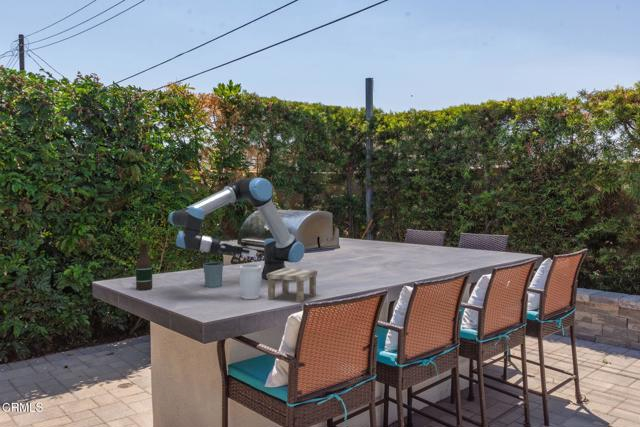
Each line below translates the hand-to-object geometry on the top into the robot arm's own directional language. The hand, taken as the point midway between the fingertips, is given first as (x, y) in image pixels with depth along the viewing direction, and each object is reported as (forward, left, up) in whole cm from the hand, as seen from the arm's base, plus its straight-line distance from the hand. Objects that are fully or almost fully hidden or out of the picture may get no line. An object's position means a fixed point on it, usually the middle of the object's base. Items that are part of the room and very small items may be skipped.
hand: (255, 254), depth 230 cm
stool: (+17, +5, -20) cm, 27 cm away
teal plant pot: (-33, +13, -21) cm, 41 cm away
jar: (-1, -3, -21) cm, 21 cm away
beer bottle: (-61, -7, -21) cm, 65 cm away
